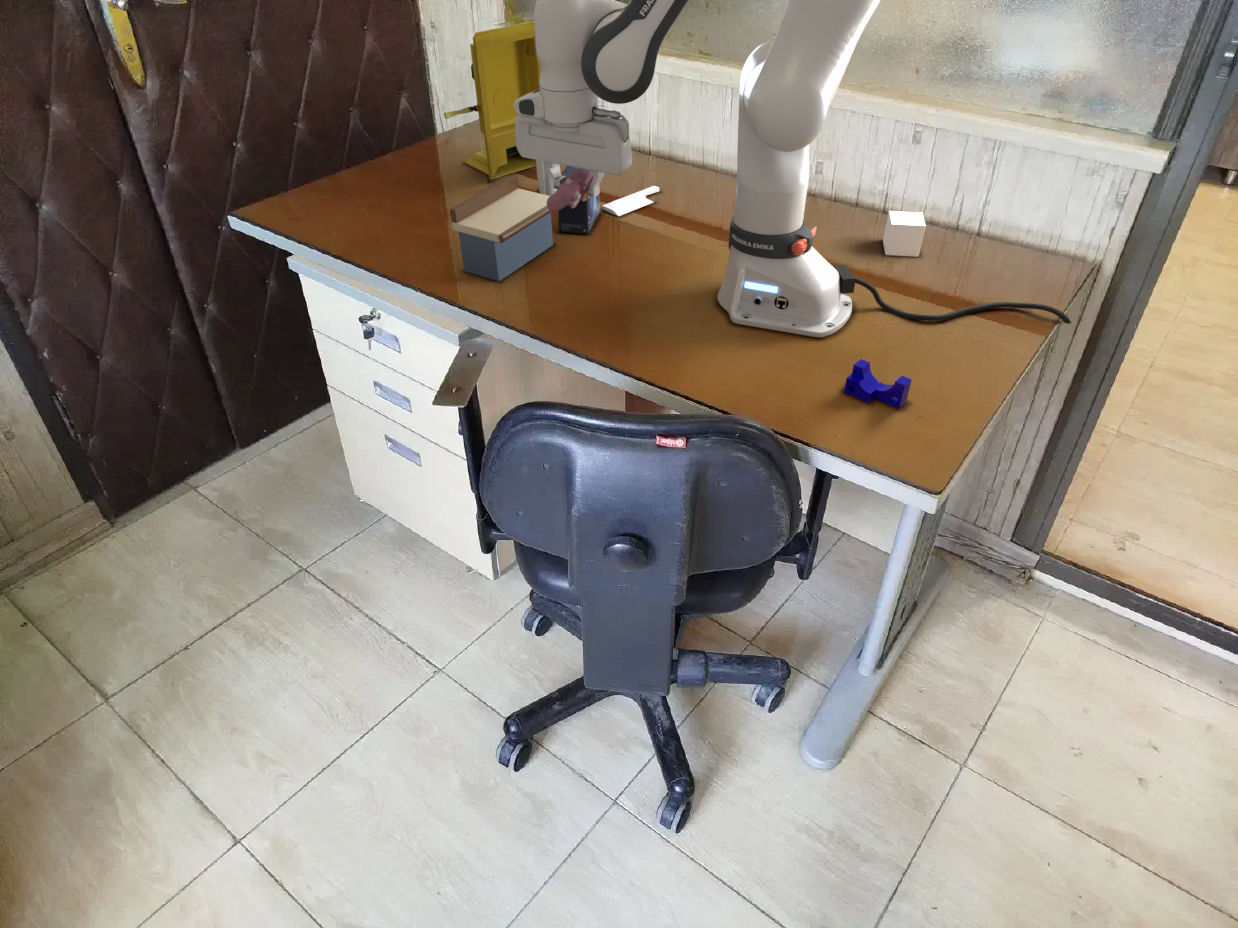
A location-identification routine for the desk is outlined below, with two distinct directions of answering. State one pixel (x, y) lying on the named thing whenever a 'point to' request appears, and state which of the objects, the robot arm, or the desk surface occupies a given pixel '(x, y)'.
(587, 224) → the small box
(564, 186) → the video game controller
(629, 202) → the white plastic blade
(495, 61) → the yellow upright casing
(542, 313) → the desk surface
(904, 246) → the white cube
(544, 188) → the photo printer
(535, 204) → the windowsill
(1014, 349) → the desk surface
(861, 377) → the cable holder
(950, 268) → the desk surface
